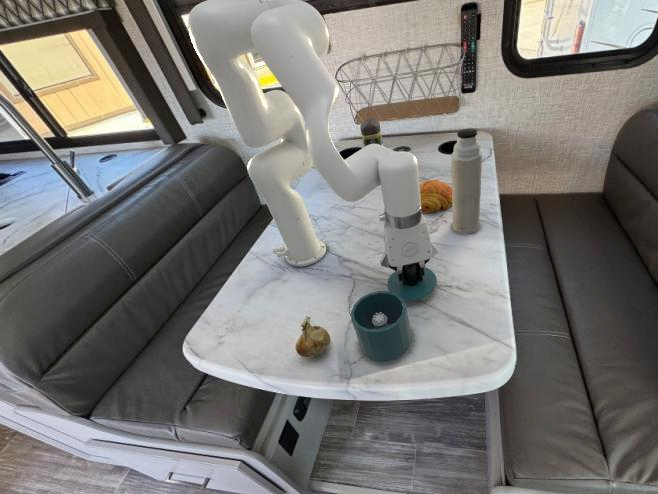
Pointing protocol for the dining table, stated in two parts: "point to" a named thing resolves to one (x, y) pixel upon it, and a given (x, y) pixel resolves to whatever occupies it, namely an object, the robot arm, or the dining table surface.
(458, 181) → the thermos bottle
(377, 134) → the coffee jar
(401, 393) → the dining table surface
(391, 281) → the canister lid
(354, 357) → the dining table surface
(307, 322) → the onion
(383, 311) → the canister
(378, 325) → the rook chess piece
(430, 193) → the croissant
